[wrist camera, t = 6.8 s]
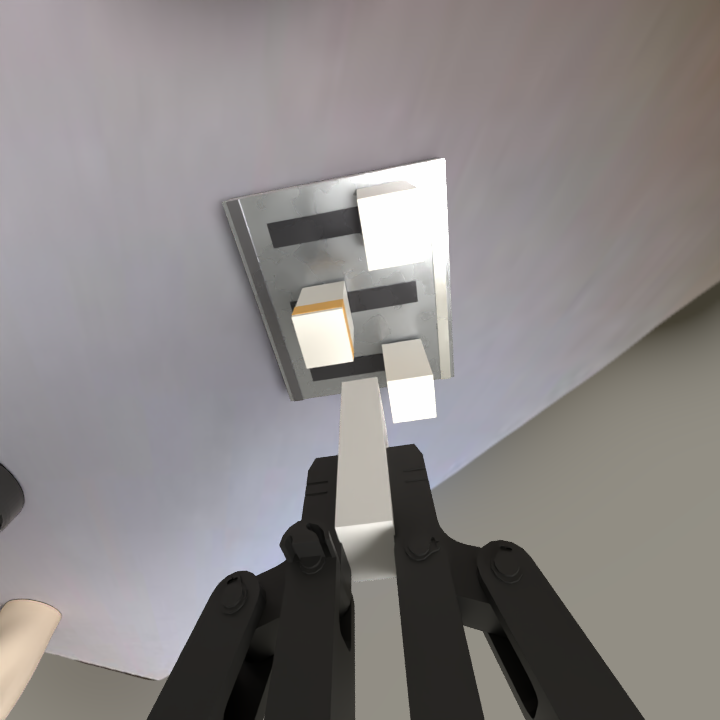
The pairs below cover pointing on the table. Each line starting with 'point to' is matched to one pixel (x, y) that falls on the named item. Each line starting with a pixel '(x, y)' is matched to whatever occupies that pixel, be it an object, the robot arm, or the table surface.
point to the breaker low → (409, 381)
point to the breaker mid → (324, 325)
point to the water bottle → (22, 646)
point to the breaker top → (391, 224)
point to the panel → (346, 273)
